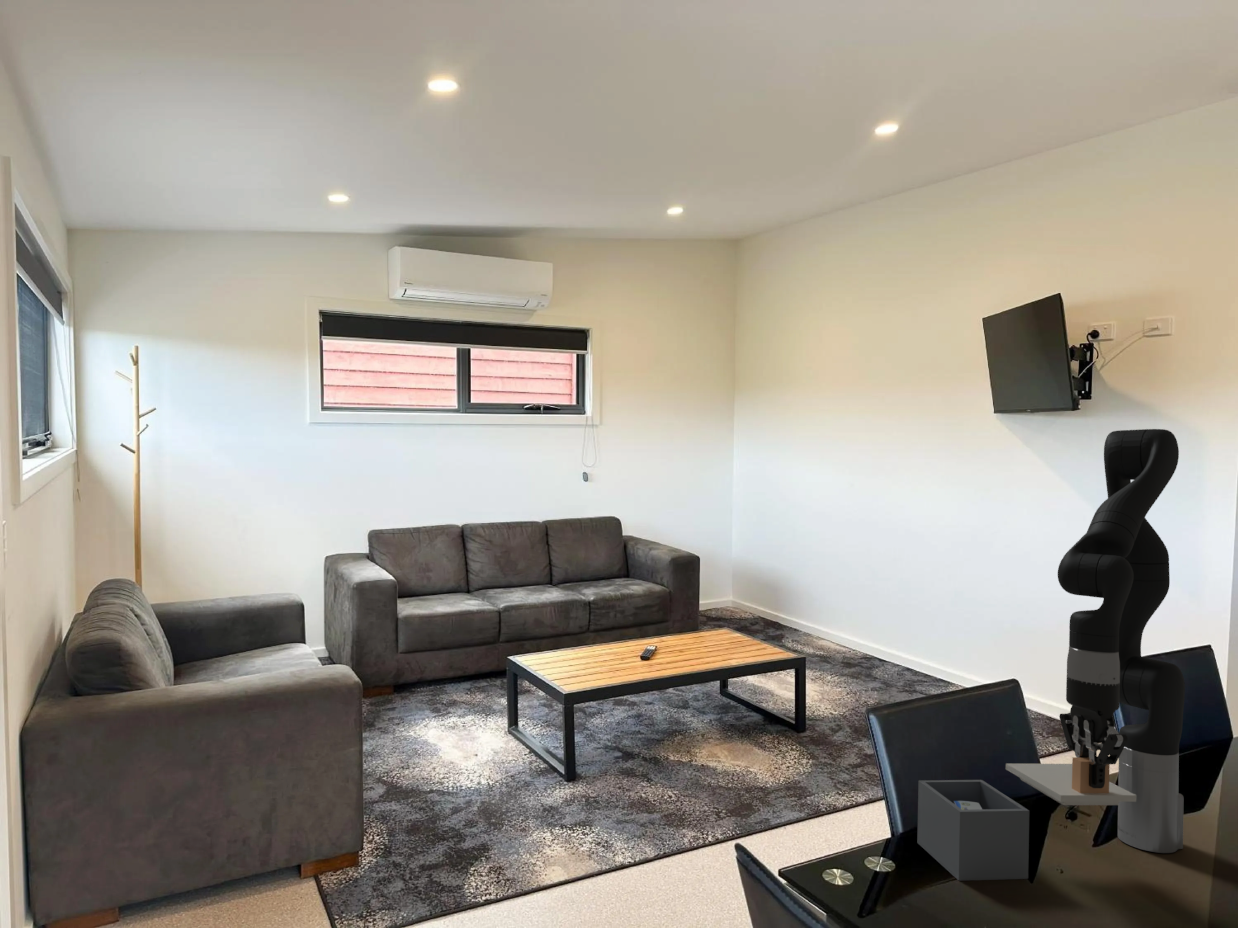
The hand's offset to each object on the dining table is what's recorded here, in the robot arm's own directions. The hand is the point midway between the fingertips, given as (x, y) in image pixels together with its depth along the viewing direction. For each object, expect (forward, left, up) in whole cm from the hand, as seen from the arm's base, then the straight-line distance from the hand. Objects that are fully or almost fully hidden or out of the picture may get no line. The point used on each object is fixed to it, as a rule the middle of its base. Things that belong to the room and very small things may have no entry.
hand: (1090, 783), depth 133 cm
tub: (+15, -10, -16) cm, 24 cm away
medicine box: (+15, -10, -16) cm, 24 cm away
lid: (0, -6, -3) cm, 6 cm away
